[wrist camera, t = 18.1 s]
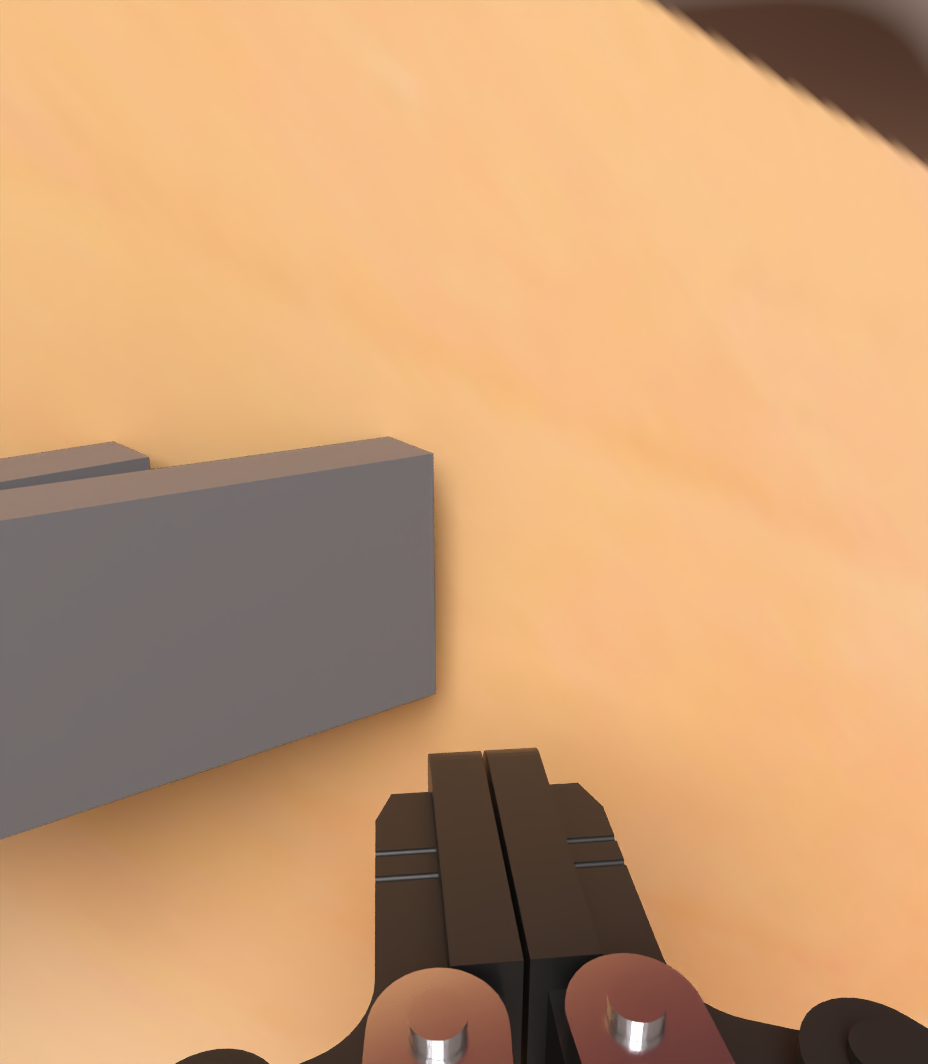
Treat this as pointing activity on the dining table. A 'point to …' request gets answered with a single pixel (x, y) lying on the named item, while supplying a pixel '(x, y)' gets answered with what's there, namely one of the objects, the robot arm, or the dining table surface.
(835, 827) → the dining table surface
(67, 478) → the domino
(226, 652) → the domino
